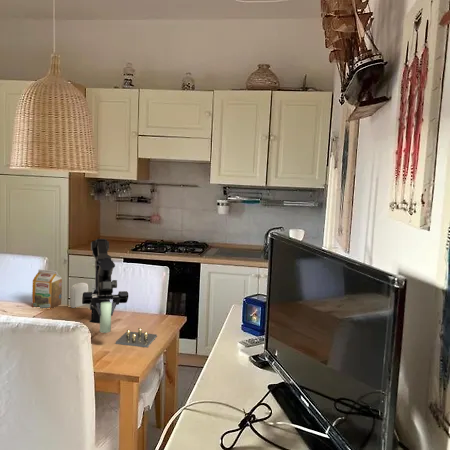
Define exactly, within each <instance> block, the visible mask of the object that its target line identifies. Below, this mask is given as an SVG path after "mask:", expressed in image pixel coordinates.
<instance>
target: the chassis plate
mask: <svg viewBox="0 0 450 450" xmlns="http://www.w3.org/2000/svg"><path fill="white" fill-rule="evenodd" d="M137 331H138V332H136V331H131V330H130V329H126V331H125V333H123V334H122V335H121V336H120V337H119V338H118V339H117V340H115V344H116V345H123V346H130V347H131V346H132V347H138V348H139V347H142V348H148V347H149V346H150V345H151V344H152V342H154V340H155V339H156V338H157V337H158V335H157V334H155V333H149V332H148V331H144V332H143V330H142V328H141V327H138V329H137Z"/></svg>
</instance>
